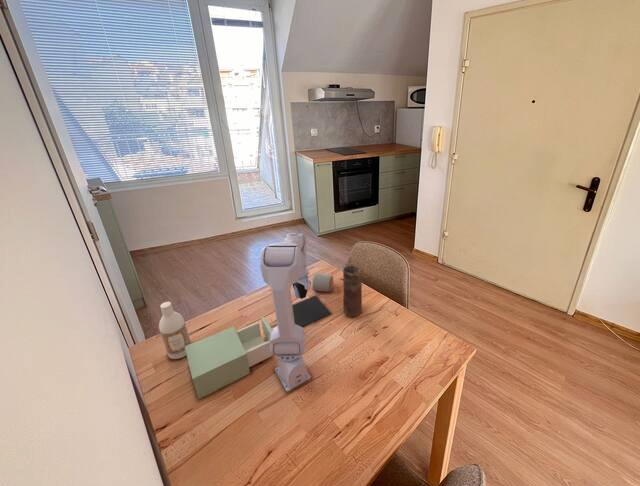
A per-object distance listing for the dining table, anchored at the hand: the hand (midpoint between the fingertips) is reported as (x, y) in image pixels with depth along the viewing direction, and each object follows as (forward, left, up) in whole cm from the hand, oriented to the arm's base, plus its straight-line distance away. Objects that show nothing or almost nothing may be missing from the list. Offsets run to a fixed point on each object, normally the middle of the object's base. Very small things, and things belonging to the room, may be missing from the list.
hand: (300, 294), depth 112 cm
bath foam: (+8, +41, -10) cm, 43 cm away
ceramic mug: (+11, -16, -10) cm, 22 cm away
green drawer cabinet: (-7, +32, -10) cm, 35 cm away
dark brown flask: (-9, -18, -10) cm, 23 cm away
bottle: (0, 0, 0) cm, 0 cm away
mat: (+1, -2, -10) cm, 10 cm away
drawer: (-7, +19, -9) cm, 22 cm away
